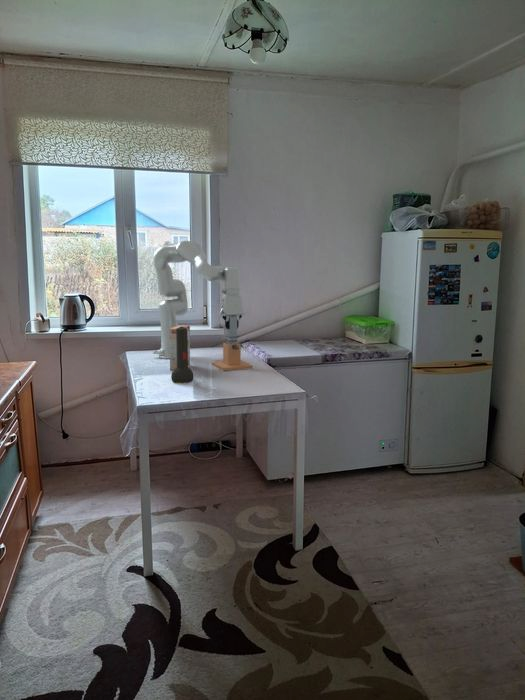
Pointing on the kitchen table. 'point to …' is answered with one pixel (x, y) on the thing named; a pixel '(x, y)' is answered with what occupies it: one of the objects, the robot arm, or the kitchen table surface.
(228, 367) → the stand
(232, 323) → the steel column
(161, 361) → the kitchen table surface
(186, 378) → the flashlight
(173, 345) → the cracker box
